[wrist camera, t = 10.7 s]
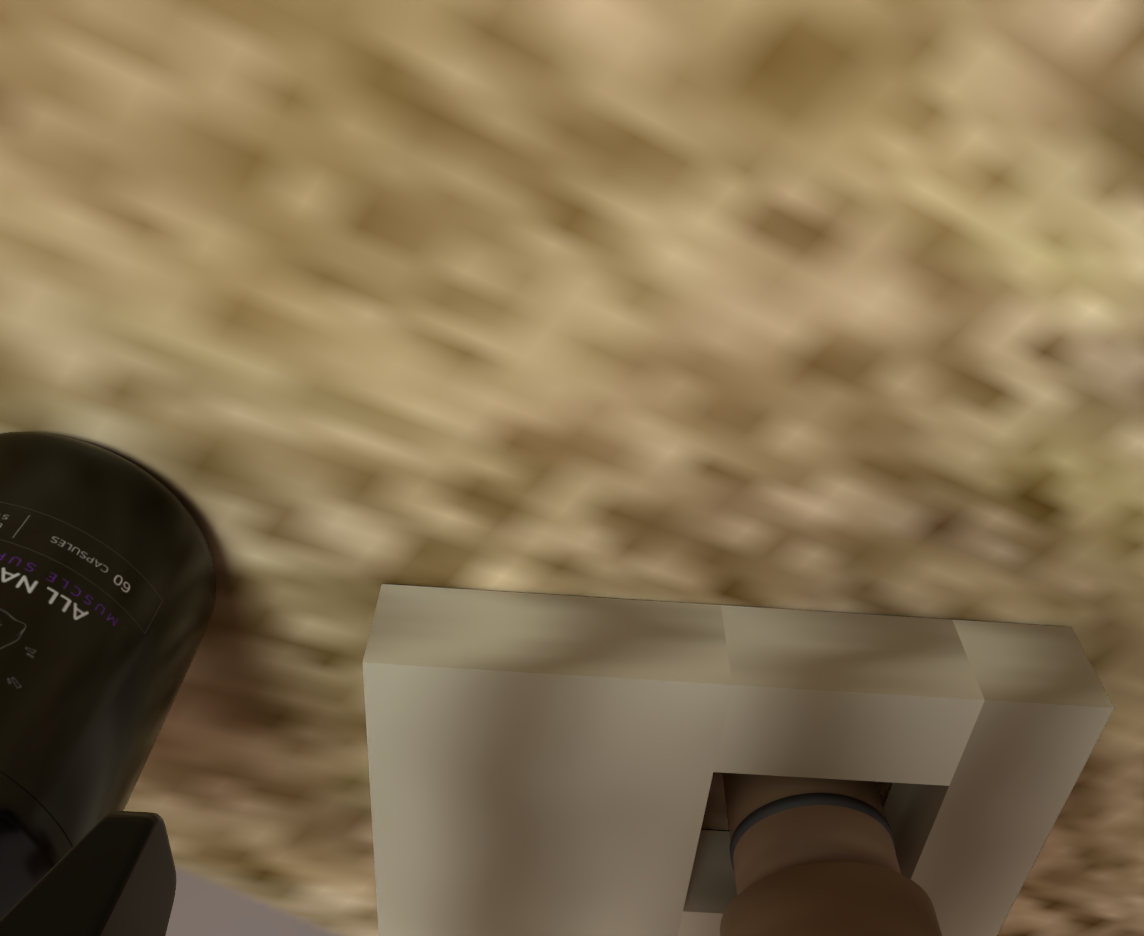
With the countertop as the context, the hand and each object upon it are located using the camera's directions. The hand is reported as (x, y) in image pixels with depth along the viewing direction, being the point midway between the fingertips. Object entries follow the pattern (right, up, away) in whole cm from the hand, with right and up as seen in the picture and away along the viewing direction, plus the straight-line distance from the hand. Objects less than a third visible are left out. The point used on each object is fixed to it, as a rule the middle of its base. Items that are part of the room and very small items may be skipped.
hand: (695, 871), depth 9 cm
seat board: (+2, -4, +19) cm, 19 cm away
